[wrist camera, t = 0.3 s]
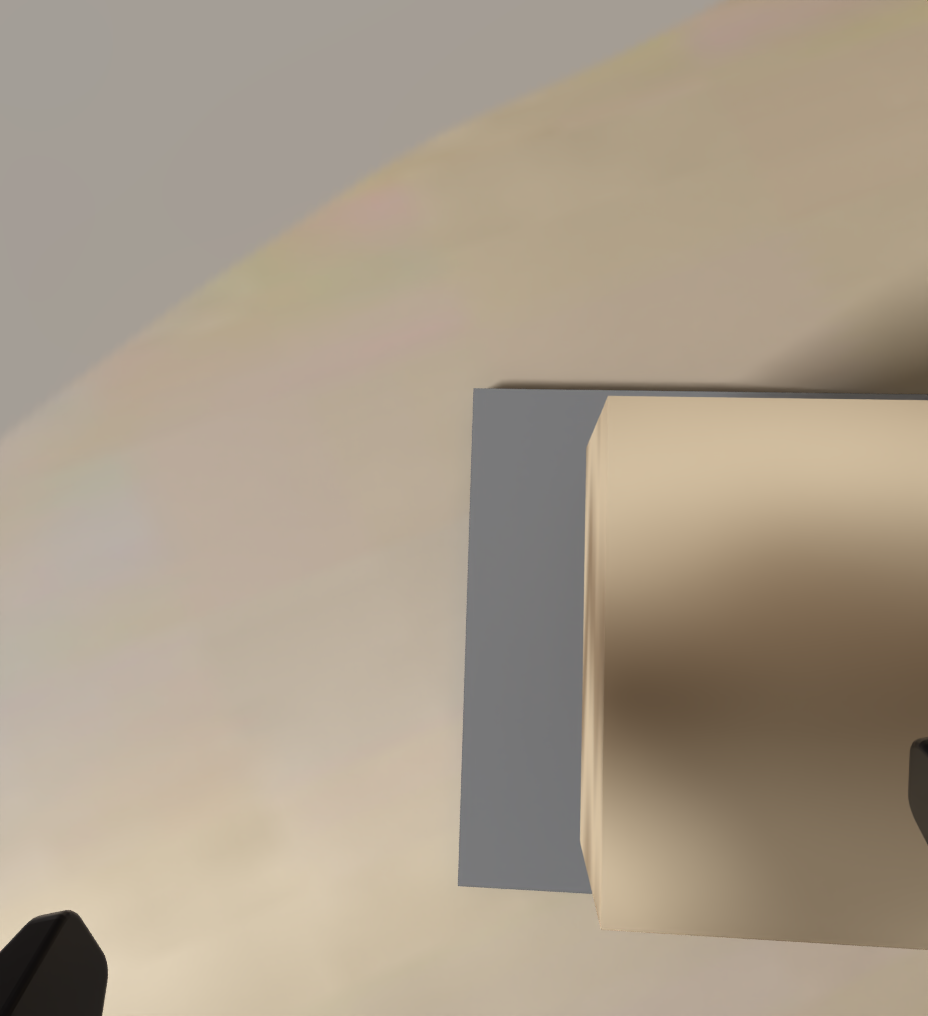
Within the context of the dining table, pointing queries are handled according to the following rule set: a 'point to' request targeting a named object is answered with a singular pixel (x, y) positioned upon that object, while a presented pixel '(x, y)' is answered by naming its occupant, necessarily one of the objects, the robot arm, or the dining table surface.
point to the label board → (532, 633)
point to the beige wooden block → (756, 668)
